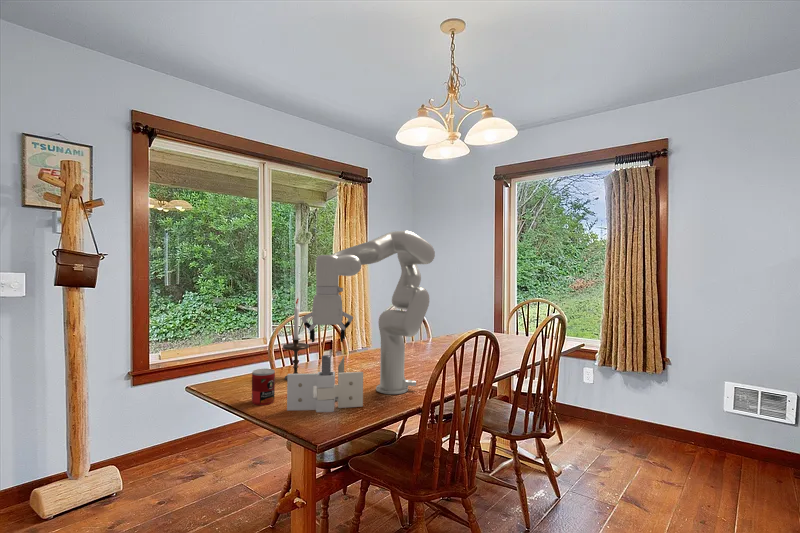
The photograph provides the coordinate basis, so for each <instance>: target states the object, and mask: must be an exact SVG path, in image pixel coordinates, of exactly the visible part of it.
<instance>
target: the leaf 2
mask: <svg viewBox="0 0 800 533" xmlns="http://www.w3.org/2000/svg"><path fill="white" fill-rule="evenodd" d="M335 397H338V401H337V408H338V409H342V408H343V409H345V408H346V409H347V408H357V407H359V408H360V407H364V371H348V372H345V371H344V373H338V372H337V384H335V385H334V388H317V400H329V399H335Z"/></svg>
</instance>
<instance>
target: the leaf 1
mask: <svg viewBox="0 0 800 533" xmlns="http://www.w3.org/2000/svg"><path fill="white" fill-rule="evenodd" d="M287 375H288V376H287ZM287 375H286V376H287V381H286V382H287V386H286V387H287V390H286V394H287V395H286V411H315V412H316V413H334V412H335V403H336V401H335V399H330V400H317V397H313V386H316V388H334V385H336V371H331V375H328V376H322V371H318V372H317V373H298V374H293V373H287Z"/></svg>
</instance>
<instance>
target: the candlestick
mask: <svg viewBox="0 0 800 533" xmlns="http://www.w3.org/2000/svg"><path fill="white" fill-rule="evenodd" d="M298 303H299V298H296V300H295V307H294V310H293V311H294V313H293V314H294V316H293V317H294V319H293V322H294V323H293V324H294V325H293V338H291V340H293V342H291V343H290V342H289V343H285V344H283V345H282V348H283V350H287V351H288V350H289V351H293V352H294V355H293V357H294V358H293V359H292V364H293V366H292V369H293V373H292V374H299V372H298V368H299V365H298V364H299V363H300V360H299V359H298V353H299V351H300V350H301V351H302V350H306V349H309V348H310V344H309V343H306V342H300V340H301V338H299V332H300V331H299V327H300V325H299V323H300V322H299V319H300V314H299V312H300V308H299V306H298ZM287 376H288V374H286V375H285V376H284V380H285V381H286V382H287Z"/></svg>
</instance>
